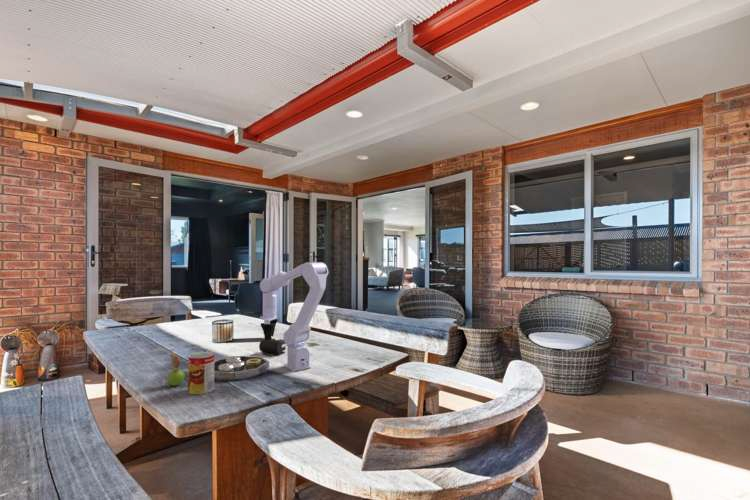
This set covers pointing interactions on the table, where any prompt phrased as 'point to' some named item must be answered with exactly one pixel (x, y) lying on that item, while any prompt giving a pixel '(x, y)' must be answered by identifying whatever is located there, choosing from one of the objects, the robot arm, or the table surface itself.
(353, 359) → the table surface
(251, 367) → the gold octagonal ring
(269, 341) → the end cap
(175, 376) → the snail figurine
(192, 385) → the canned food
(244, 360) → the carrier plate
